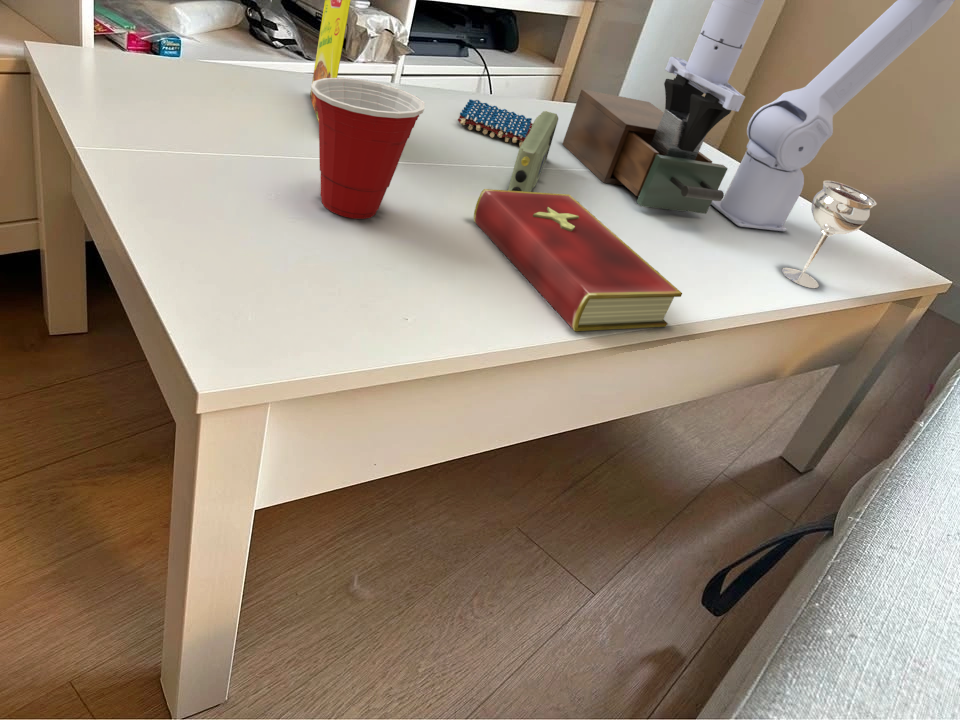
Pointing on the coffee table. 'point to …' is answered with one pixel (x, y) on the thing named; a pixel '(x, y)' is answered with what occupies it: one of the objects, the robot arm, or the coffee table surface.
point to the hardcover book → (575, 260)
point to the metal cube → (673, 135)
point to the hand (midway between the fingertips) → (676, 143)
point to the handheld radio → (533, 153)
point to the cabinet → (606, 129)
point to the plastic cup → (360, 141)
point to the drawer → (667, 176)
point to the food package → (330, 42)
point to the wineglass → (833, 220)
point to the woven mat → (495, 121)
